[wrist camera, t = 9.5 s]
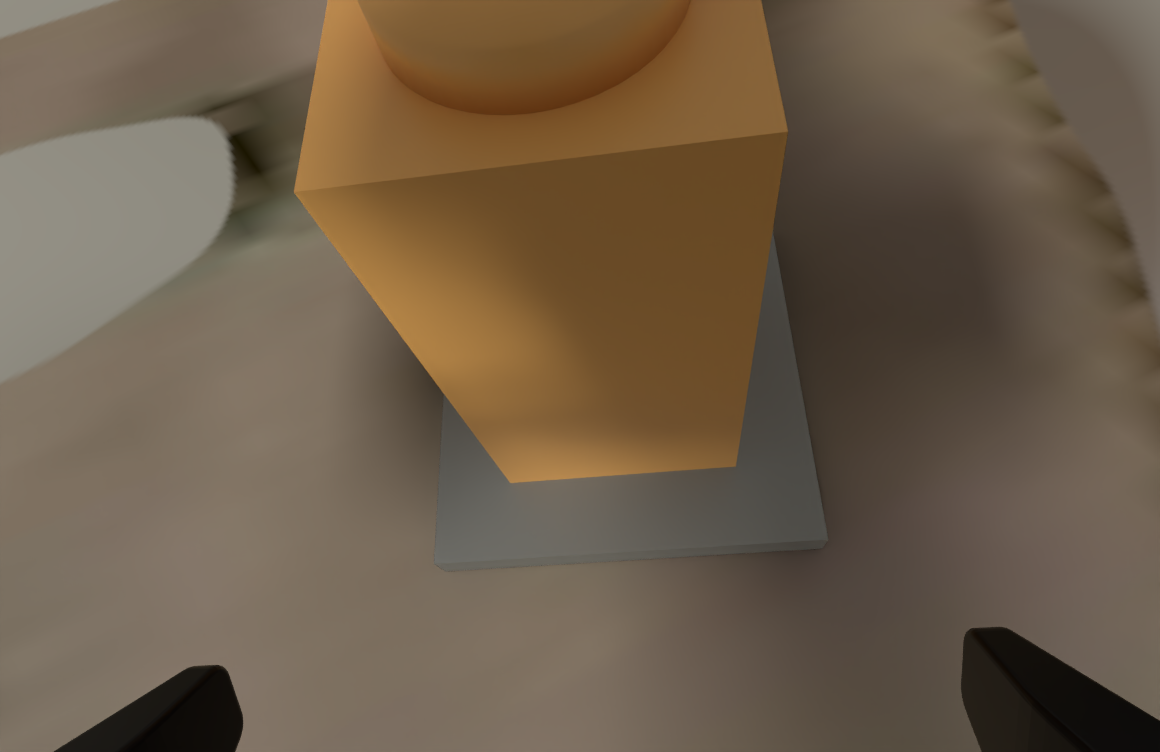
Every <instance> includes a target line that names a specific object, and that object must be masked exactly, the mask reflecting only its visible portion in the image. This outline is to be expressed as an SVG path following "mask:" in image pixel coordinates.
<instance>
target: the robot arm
mask: <svg viewBox="0 0 1160 752" xmlns="http://www.w3.org/2000/svg"><path fill="white" fill-rule="evenodd" d="M961 692H962V698H963V703H964V706H965V709H966V712H967V715H968V717H969V720H970V723H971V725H972V728H973V730H974V733H975V736H976V738H977V741H978V744H979V746H980V749H981V751H982V752H1160V721H1159V720H1158V719H1156V718H1154V717H1153V716H1151V715H1149V714H1148V713H1146V712H1144V711H1143V710H1141V709H1140V708H1138V707H1136V706H1135V705H1133V704H1131V703H1130V702H1128V701H1126V700H1125V699H1123V698H1122V697H1120V696H1118V695H1117V694H1115V693H1113V692H1112V691H1110V690H1108V689H1107V688H1105V687H1103V686H1102V685H1100V684H1099V683H1097V682H1095V681H1094V680H1092V679H1090V678H1089V677H1087V676H1085V675H1084V674H1082V673H1080V672H1079V671H1077V670H1076V669H1074V668H1072V667H1071V666H1069V665H1067V664H1066V663H1064V662H1062V661H1061V660H1059V659H1058V658H1056V657H1054V656H1053V655H1051V654H1049V653H1048V652H1046V651H1044V650H1043V649H1041V648H1039V647H1038V646H1036V645H1035V644H1033V643H1031V642H1030V641H1028V640H1026V639H1025V638H1023V637H1021V636H1020V635H1018V634H1016V633H1015V632H1013V631H1011V630H1009V629H1007V628H1004V627H987V628H972V629H970V630H968V631H967V632H966V634H965V637H964V643H963V661H962V679H961ZM242 729H243V715H242V711H241V708H240V705H239V702H238V700H237V697H236V694H235V691H234V688H233V685H232V682H231V679H230V676H229V673H228V671H227V670H226V669H225V668H224V667H223V666H220V665H205V666H193V667H189V668H187V669H185V670H183V671H182V672H180V673H179V674H177V675H175V676H174V677H172V678H171V679H169V680H167V681H166V682H164V683H163V684H161V685H159V686H158V687H156V688H155V689H153V690H151V691H150V692H148V693H147V694H145V695H143V696H142V697H140V698H139V699H137V700H135V701H134V702H132V703H131V704H129V705H127V706H126V707H124V708H123V709H121V710H119V711H118V712H116V713H115V714H113V715H111V716H110V717H108V718H107V719H105V720H103V721H102V722H100V723H99V724H97V725H95V726H94V727H92V728H91V729H89V730H87V731H86V732H84V733H83V734H81V735H79V736H78V737H76V738H75V739H73V740H71V741H70V742H68V743H67V744H65V745H63V746H62V747H60V748H59V749H57V750H55V751H54V752H235V751H236V748H237V746H238V743H239V740H240V738H241V734H242Z"/></svg>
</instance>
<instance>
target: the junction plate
mask: <svg viewBox="0 0 1160 752" xmlns="http://www.w3.org/2000/svg"><path fill="white" fill-rule="evenodd" d="M827 541H828V535H827V529H826V524H825V518H824V512H823V507H822V501H821V496H820V490H819V485H818V479H817V473H816V468H815V462H814V457H813V451H812V446H811V440H810V435H809V429H808V423H807V418H806V412H805V407H804V401H803V396H802V390H801V384H800V379H799V373H798V368H797V362H796V357H795V351H794V345H793V340H792V334H791V329H790V323H789V318H788V312H787V306H786V301H785V295H784V290H783V284H782V279H781V273H780V267H779V262H778V256H777V251H776V245H775V240H774V234H773V232H772V238H771V244H770V251H769V257H768V264H767V270H766V276H765V283H764V289H763V296H762V302H761V309H760V315H759V321H758V328H757V334H756V341H755V347H754V353H753V360H752V366H751V373H750V379H749V385H748V392H747V398H746V405H745V411H744V417H743V424H742V430H741V437H740V443H739V449H738V456H737V462H736V467H723V468H709V469H695V470H682V471H668V472H655V473H641V474H627V475H614V476H600V477H586V478H573V479H559V480H546V481H532V482H518V483H510V482H509V481H508V479H507V478H506V477H505V475H504V474H503V473H502V471H501V470H500V469H499V467H498V466H497V465H496V463H495V462H494V461H493V459H492V458H491V456H490V455H489V454H488V452H487V451H486V450H485V448H484V447H483V446H482V444H481V443H480V442H479V440H478V439H477V438H476V436H475V435H474V434H473V432H472V431H471V430H470V428H469V427H468V426H467V424H466V423H465V422H464V420H463V419H462V417H461V416H460V415H459V413H458V412H457V411H456V409H455V408H454V407H453V405H452V404H451V403H450V401H449V400H448V399H447V397H446V396H445V395H444V393H443V411H442V429H441V447H440V465H439V483H438V500H437V518H436V536H435V554H434V564H435V565H436V566H438V567H440V568H441V569H443V570H444V571H459V570H476V569H492V568H509V567H526V566H542V565H559V564H575V563H592V562H608V561H625V560H641V559H658V558H674V557H691V556H707V555H724V554H741V553H757V552H774V551H790V550H807V549H822V548H823V547H824V545H825V544H826V542H827Z"/></svg>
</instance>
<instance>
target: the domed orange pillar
mask: <svg viewBox="0 0 1160 752" xmlns="http://www.w3.org/2000/svg"><path fill="white" fill-rule="evenodd" d="M787 136H788V129H787V124H786V119H785V114H784V109H783V104H782V99H781V94H780V90H779V85H778V80H777V75H776V70H775V65H774V60H773V56H772V51H771V46H770V41H769V36H768V31H767V26H766V21H765V17H764V12H763V7H762V2H761V0H328V3H327V9H326V14H325V20H324V26H323V31H322V37H321V42H320V48H319V54H318V59H317V65H316V71H315V76H314V82H313V87H312V93H311V99H310V104H309V110H308V116H307V121H306V127H305V132H304V138H303V144H302V149H301V155H300V161H299V166H298V172H297V177H296V183H295V189H294V193H295V194H296V196H297V197H298V198H299V200H300V201H301V202H302V204H303V205H304V206H305V208H306V209H307V211H308V212H309V213H310V215H311V216H312V217H313V219H314V220H315V221H316V223H317V224H318V225H319V227H320V228H321V229H322V231H323V232H324V233H325V235H326V236H327V237H328V239H329V240H330V241H331V243H332V244H333V245H334V247H335V248H336V249H337V251H338V252H339V254H340V255H341V256H342V258H343V259H344V260H345V262H346V263H347V264H348V266H349V267H350V268H351V270H352V271H353V272H354V274H355V275H356V276H357V278H358V279H359V280H360V282H361V283H362V284H363V286H364V287H365V288H366V290H367V291H368V293H369V294H370V295H371V297H372V298H373V299H374V301H375V302H376V303H377V305H378V306H379V307H380V309H381V310H382V311H383V313H384V314H385V315H386V317H387V318H388V319H389V321H390V322H391V323H392V325H393V326H394V327H395V329H396V330H397V331H398V333H399V334H400V336H401V337H402V338H403V340H404V341H405V342H406V344H407V345H408V346H409V348H410V349H411V350H412V352H413V353H414V354H415V356H416V357H417V358H418V360H419V361H420V362H421V364H422V365H423V366H424V368H425V369H426V370H427V372H428V373H429V374H430V376H431V377H432V379H433V380H434V381H435V383H436V384H437V385H438V387H439V388H440V389H441V391H442V392H443V393H444V395H445V396H446V397H447V399H448V400H449V401H450V403H451V404H452V405H453V407H454V408H455V409H456V411H457V412H458V413H459V415H460V416H461V417H462V419H463V420H464V422H465V423H466V424H467V426H468V427H469V428H470V430H471V431H472V432H473V434H474V435H475V436H476V438H477V439H478V440H479V442H480V443H481V444H482V446H483V447H484V448H485V450H486V451H487V452H488V454H489V455H490V456H491V458H492V459H493V461H494V462H495V463H496V465H497V466H498V467H499V469H500V470H501V471H502V473H503V474H504V475H505V477H506V478H507V479H508V481H509V482H510V483H518V482H532V481H546V480H559V479H573V478H586V477H600V476H614V475H627V474H641V473H655V472H668V471H682V470H695V469H709V468H723V467H736V462H737V456H738V449H739V443H740V437H741V430H742V424H743V417H744V411H745V405H746V398H747V392H748V385H749V379H750V373H751V366H752V360H753V353H754V347H755V341H756V334H757V328H758V321H759V315H760V309H761V302H762V296H763V289H764V283H765V276H766V270H767V264H768V257H769V251H770V244H771V238H772V232H773V225H774V219H775V212H776V206H777V200H778V193H779V187H780V180H781V174H782V168H783V161H784V155H785V148H786V142H787Z"/></svg>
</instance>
